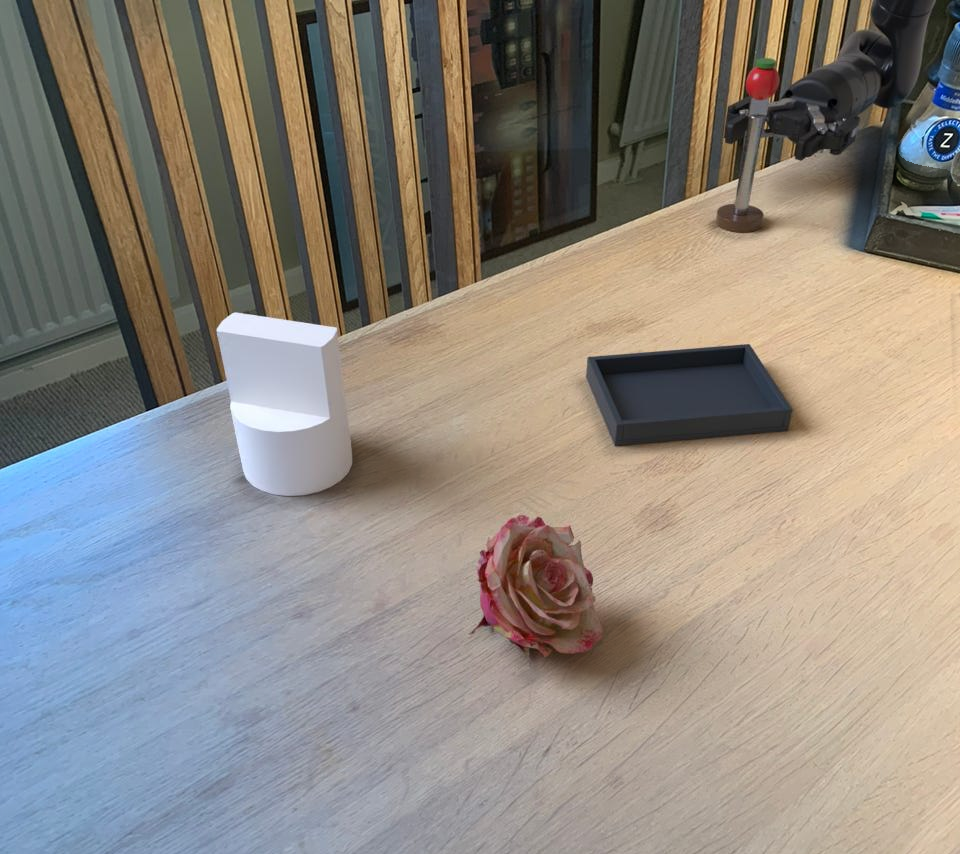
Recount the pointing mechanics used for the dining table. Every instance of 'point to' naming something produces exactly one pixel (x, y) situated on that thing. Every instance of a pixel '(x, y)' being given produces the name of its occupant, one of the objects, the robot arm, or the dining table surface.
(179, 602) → the dining table surface
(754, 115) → the red ball topped stand
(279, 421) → the base with upright slab
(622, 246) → the dining table surface
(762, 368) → the tray
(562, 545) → the flower
